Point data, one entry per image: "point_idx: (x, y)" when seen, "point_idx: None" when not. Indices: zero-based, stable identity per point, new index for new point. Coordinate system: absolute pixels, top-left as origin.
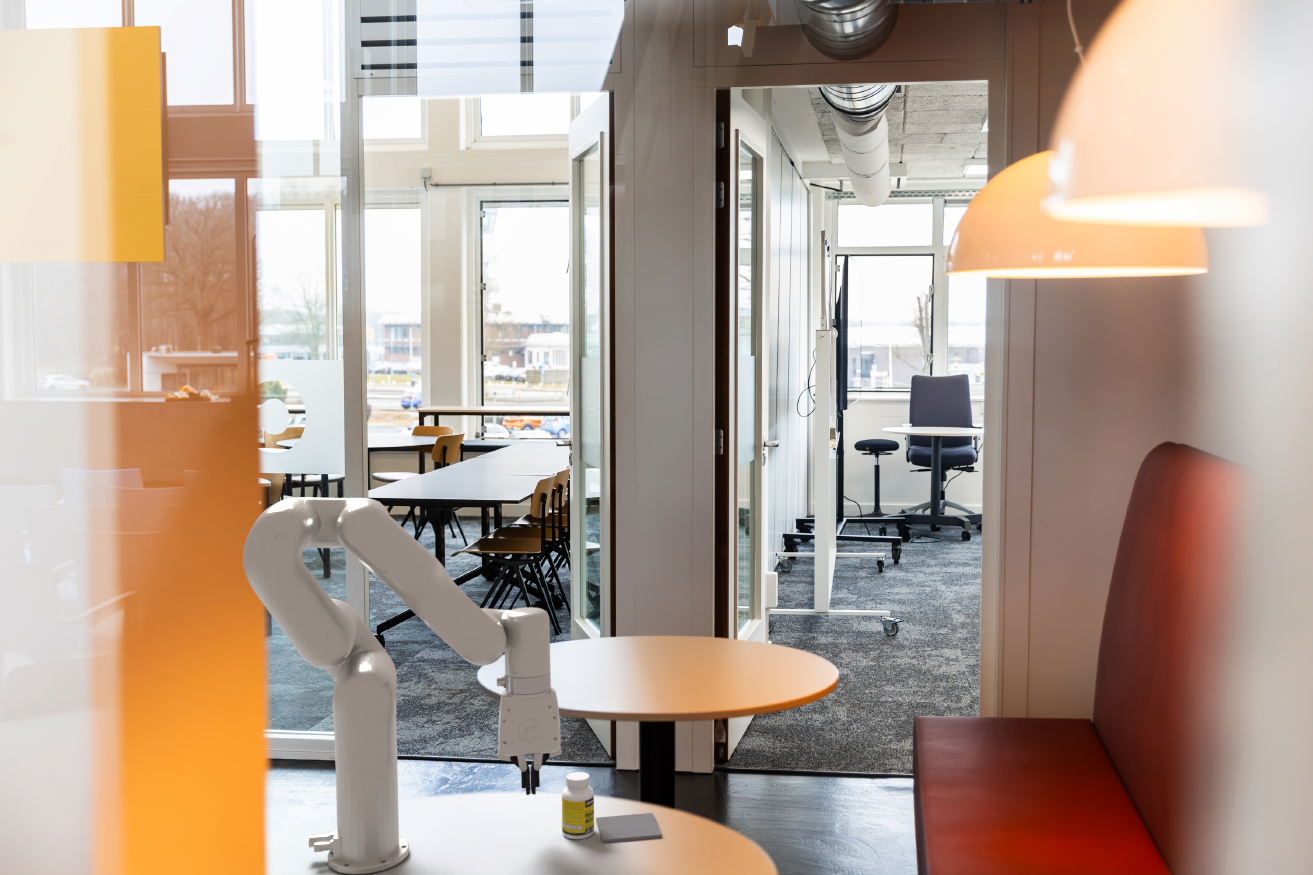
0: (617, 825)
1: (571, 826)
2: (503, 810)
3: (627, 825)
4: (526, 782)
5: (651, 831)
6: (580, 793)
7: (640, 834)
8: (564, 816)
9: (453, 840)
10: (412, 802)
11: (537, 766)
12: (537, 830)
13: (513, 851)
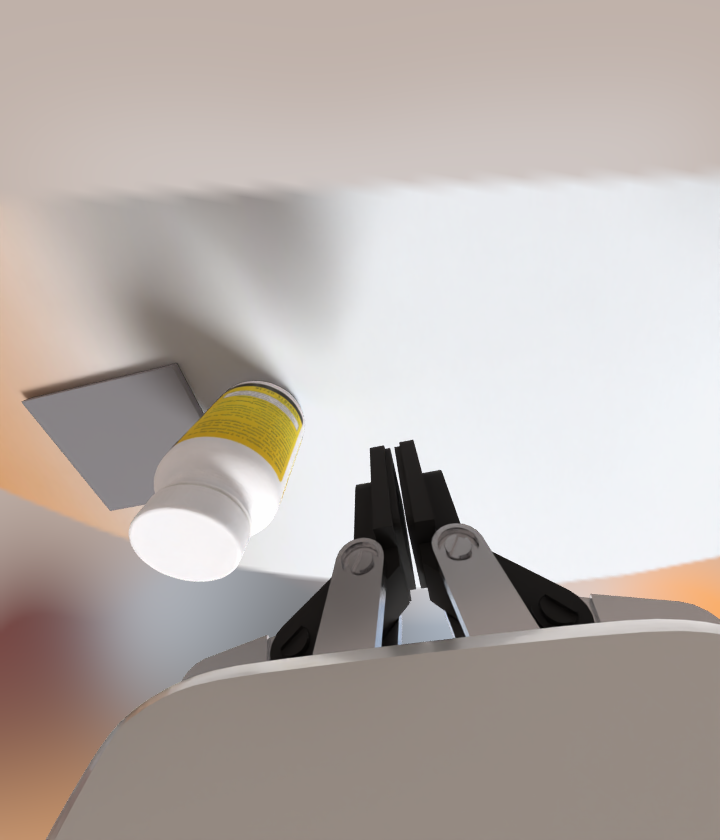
0: (166, 449)
1: (258, 396)
2: (474, 524)
3: (139, 449)
4: (420, 474)
5: (59, 418)
6: (182, 466)
7: (79, 400)
8: (278, 421)
9: (611, 370)
10: (687, 555)
11: (360, 560)
12: (376, 431)
13: (427, 300)
